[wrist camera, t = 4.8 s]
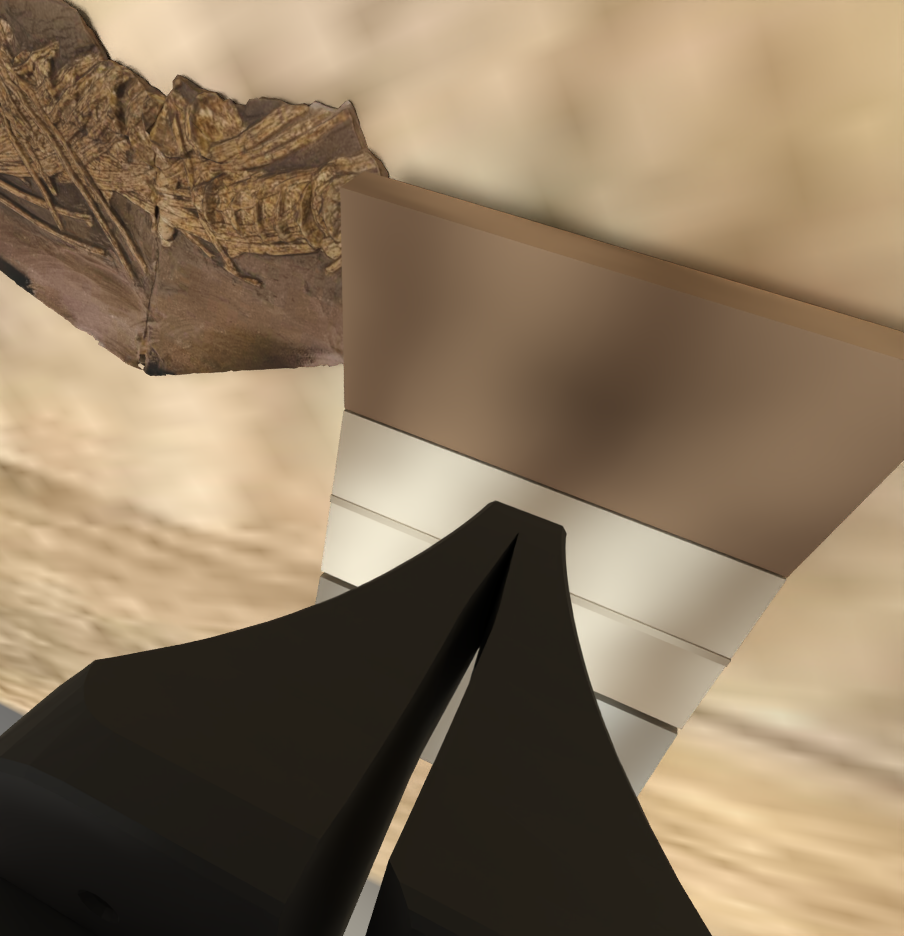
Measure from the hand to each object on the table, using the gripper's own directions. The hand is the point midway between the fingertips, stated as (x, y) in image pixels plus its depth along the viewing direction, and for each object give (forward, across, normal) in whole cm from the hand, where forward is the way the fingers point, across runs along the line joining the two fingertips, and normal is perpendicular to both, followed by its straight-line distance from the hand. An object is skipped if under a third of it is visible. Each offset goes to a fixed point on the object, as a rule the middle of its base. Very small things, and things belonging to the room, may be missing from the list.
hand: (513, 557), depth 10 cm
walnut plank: (+7, 0, -1) cm, 8 cm away
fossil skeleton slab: (+9, +18, -1) cm, 20 cm away
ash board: (+8, 0, +6) cm, 10 cm away
